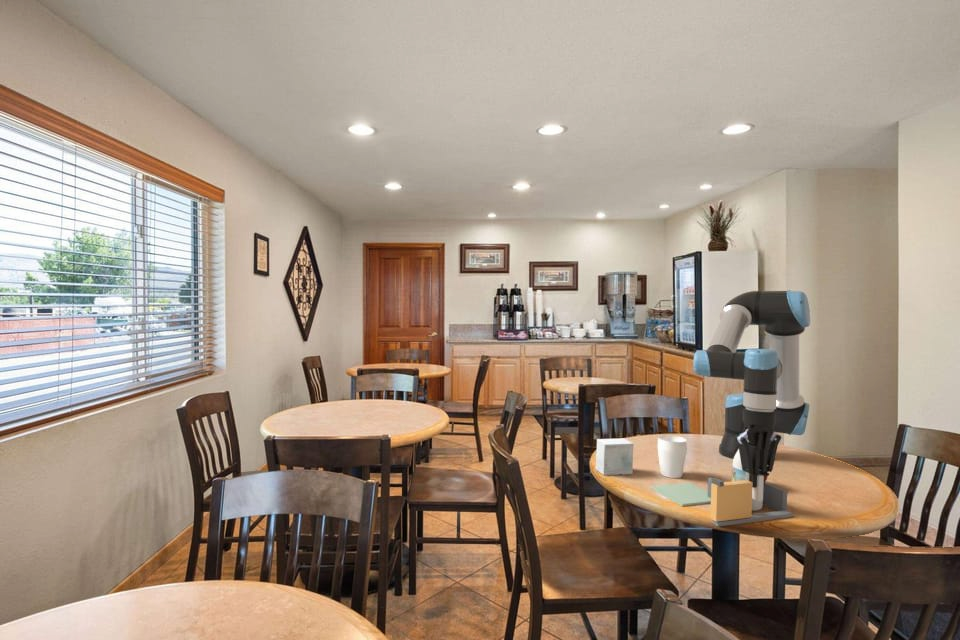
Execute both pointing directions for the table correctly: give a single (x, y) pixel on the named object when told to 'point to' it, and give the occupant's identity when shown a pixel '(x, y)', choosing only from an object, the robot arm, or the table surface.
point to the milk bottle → (743, 478)
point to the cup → (671, 455)
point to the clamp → (771, 498)
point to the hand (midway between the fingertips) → (756, 498)
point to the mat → (684, 493)
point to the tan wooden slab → (730, 500)
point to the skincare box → (614, 456)
